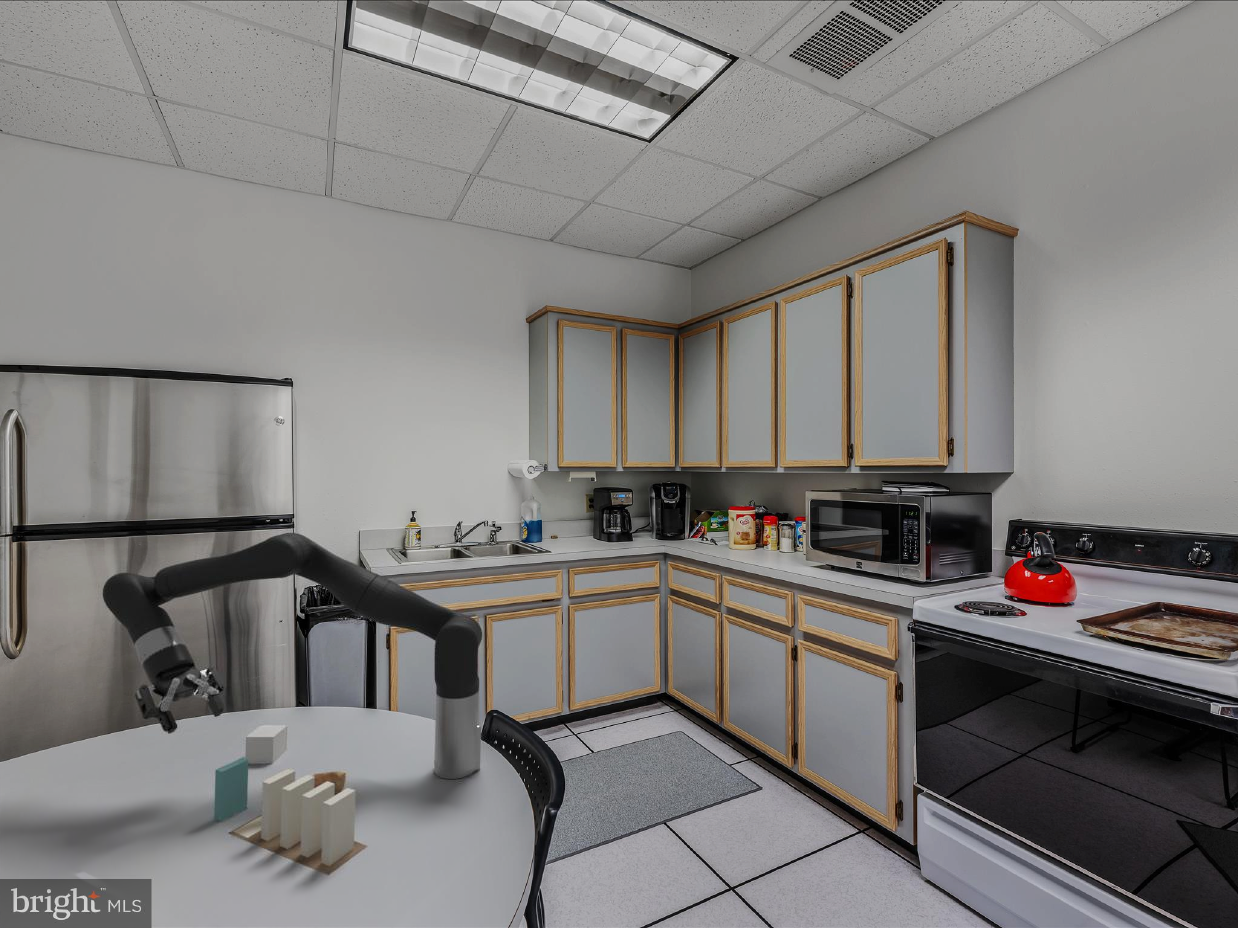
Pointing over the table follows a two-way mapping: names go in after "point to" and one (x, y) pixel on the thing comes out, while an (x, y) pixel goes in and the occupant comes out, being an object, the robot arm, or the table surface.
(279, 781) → the domino
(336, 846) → the domino
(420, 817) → the table surface
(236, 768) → the teal domino
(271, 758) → the white cube
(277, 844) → the board
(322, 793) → the domino
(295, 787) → the domino
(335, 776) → the shard
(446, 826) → the table surface
